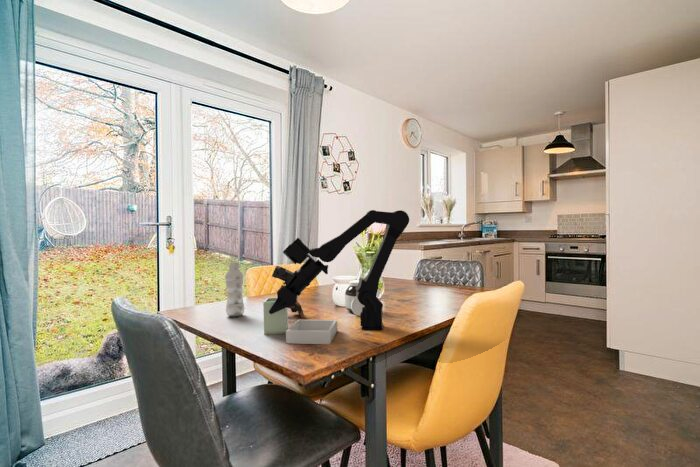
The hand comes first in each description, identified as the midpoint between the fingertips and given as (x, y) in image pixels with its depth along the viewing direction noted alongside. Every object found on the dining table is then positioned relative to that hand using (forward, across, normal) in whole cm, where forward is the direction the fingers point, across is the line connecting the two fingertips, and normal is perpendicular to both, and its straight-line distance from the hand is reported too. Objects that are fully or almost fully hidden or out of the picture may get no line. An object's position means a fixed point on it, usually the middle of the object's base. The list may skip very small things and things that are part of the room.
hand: (271, 310), depth 112 cm
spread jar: (-16, -21, +26) cm, 37 cm away
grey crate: (-5, +8, +14) cm, 17 cm away
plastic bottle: (+17, -22, -7) cm, 28 cm away
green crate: (+4, 0, +6) cm, 7 cm away
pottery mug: (+2, -18, +8) cm, 20 cm away
